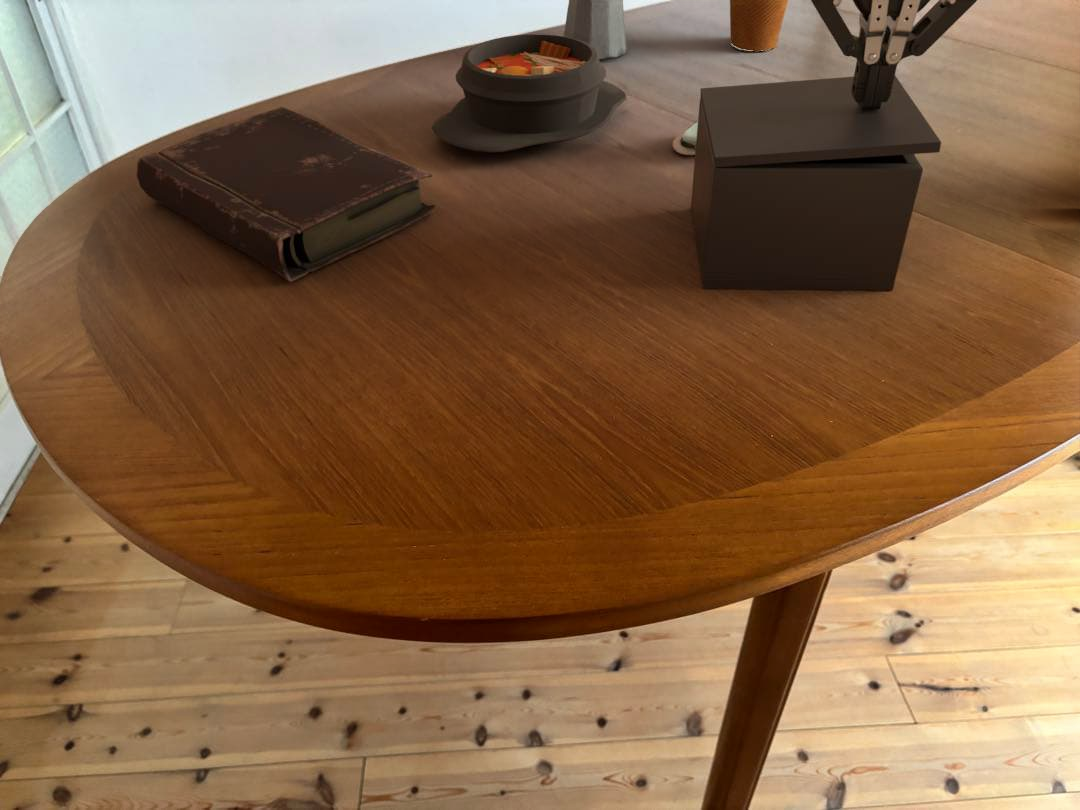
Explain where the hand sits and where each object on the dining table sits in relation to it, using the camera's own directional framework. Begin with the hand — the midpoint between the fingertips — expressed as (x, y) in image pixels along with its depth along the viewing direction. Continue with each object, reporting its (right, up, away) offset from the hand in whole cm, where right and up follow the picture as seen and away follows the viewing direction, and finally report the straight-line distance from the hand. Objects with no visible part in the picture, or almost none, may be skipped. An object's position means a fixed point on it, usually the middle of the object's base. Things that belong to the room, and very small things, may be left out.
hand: (868, 105), depth 75 cm
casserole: (-28, +8, +32) cm, 43 cm away
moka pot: (-19, +24, +52) cm, 60 cm away
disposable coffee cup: (+3, +25, +53) cm, 58 cm away
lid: (-5, -1, +1) cm, 5 cm away
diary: (-52, -5, +17) cm, 55 cm away
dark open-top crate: (-5, -10, +8) cm, 14 cm away
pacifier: (-9, +4, +26) cm, 28 cm away
